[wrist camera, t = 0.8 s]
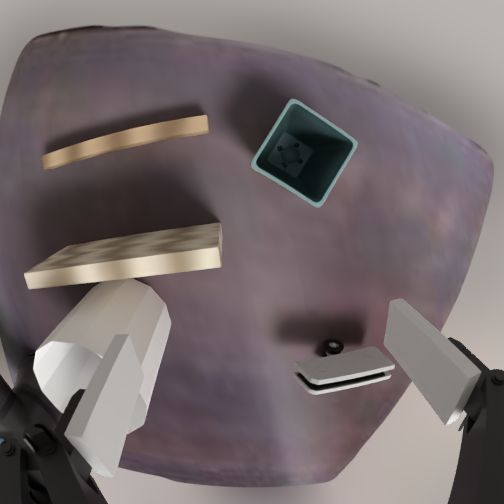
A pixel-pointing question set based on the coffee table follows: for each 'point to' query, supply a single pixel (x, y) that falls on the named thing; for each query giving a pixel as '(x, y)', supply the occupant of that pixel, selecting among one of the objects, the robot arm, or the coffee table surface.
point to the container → (104, 341)
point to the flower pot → (304, 153)
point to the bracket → (342, 369)
